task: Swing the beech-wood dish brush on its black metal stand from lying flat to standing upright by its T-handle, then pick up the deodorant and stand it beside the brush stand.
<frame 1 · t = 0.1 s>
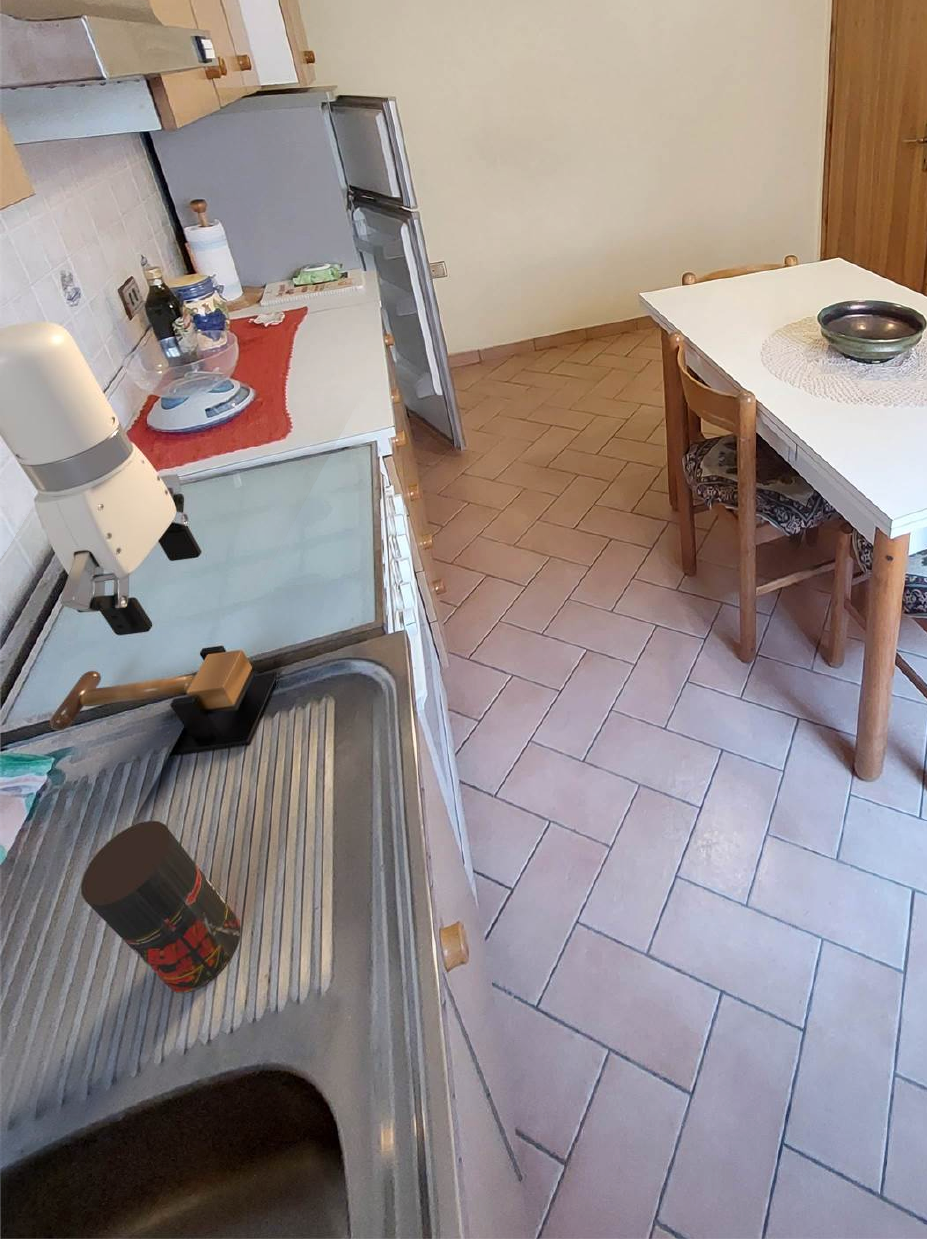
hand: (162, 592, 71), 21 cm above the worktop, tool pointing down, fingers open, 9 cm apart
deodorant: (204, 951, 62), on the worktop
brush stand: (223, 715, 83), on the worktop
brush: (155, 692, 80), point 5 cm above the worktop, hinge at 0.0°
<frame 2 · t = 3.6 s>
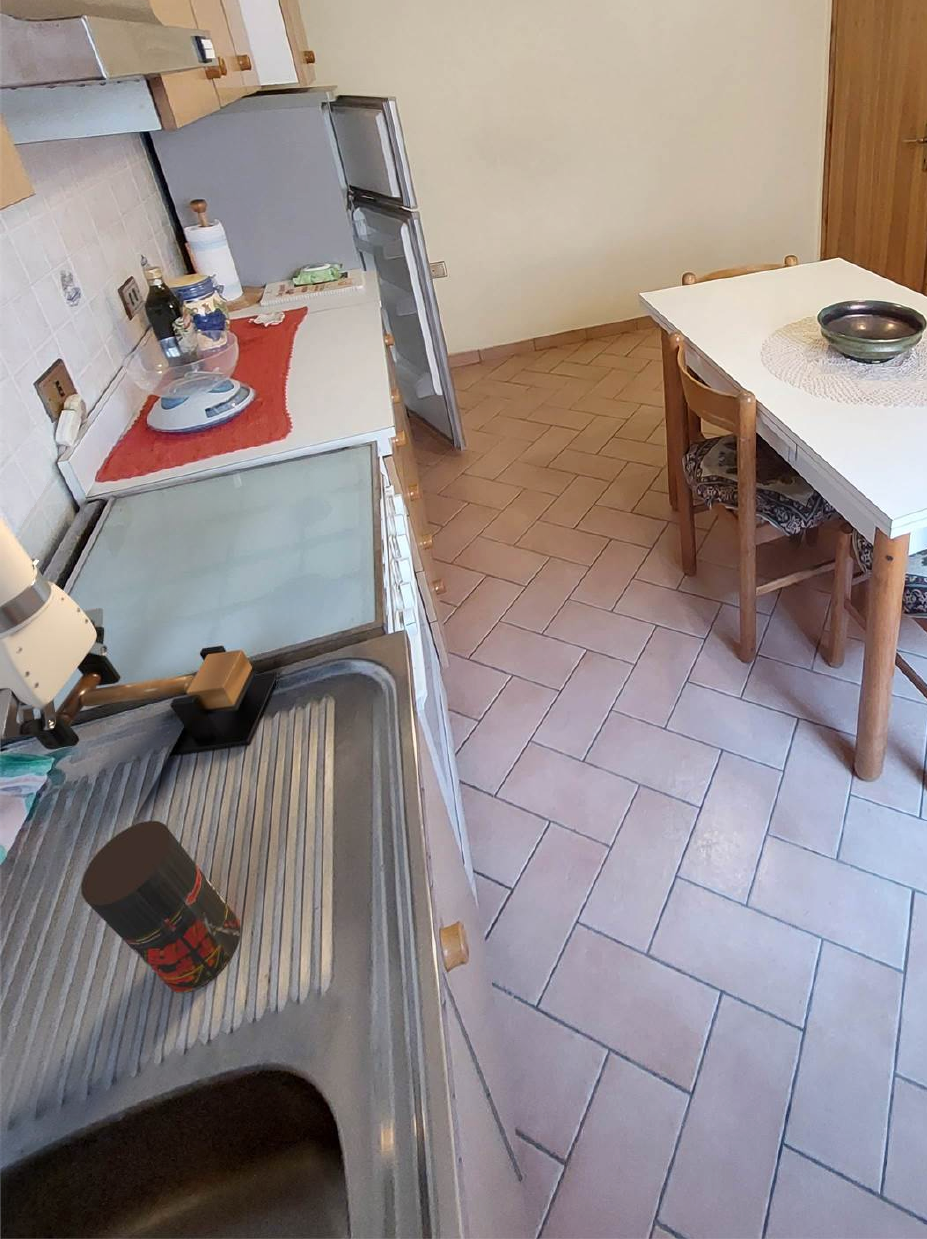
hand: (86, 711, 80), 4 cm above the worktop, tool pointing down, fingers closed on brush, 7 cm apart
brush: (155, 692, 80), point 5 cm above the worktop, hinge at 0.0°, touching gripper
everything else where it was.
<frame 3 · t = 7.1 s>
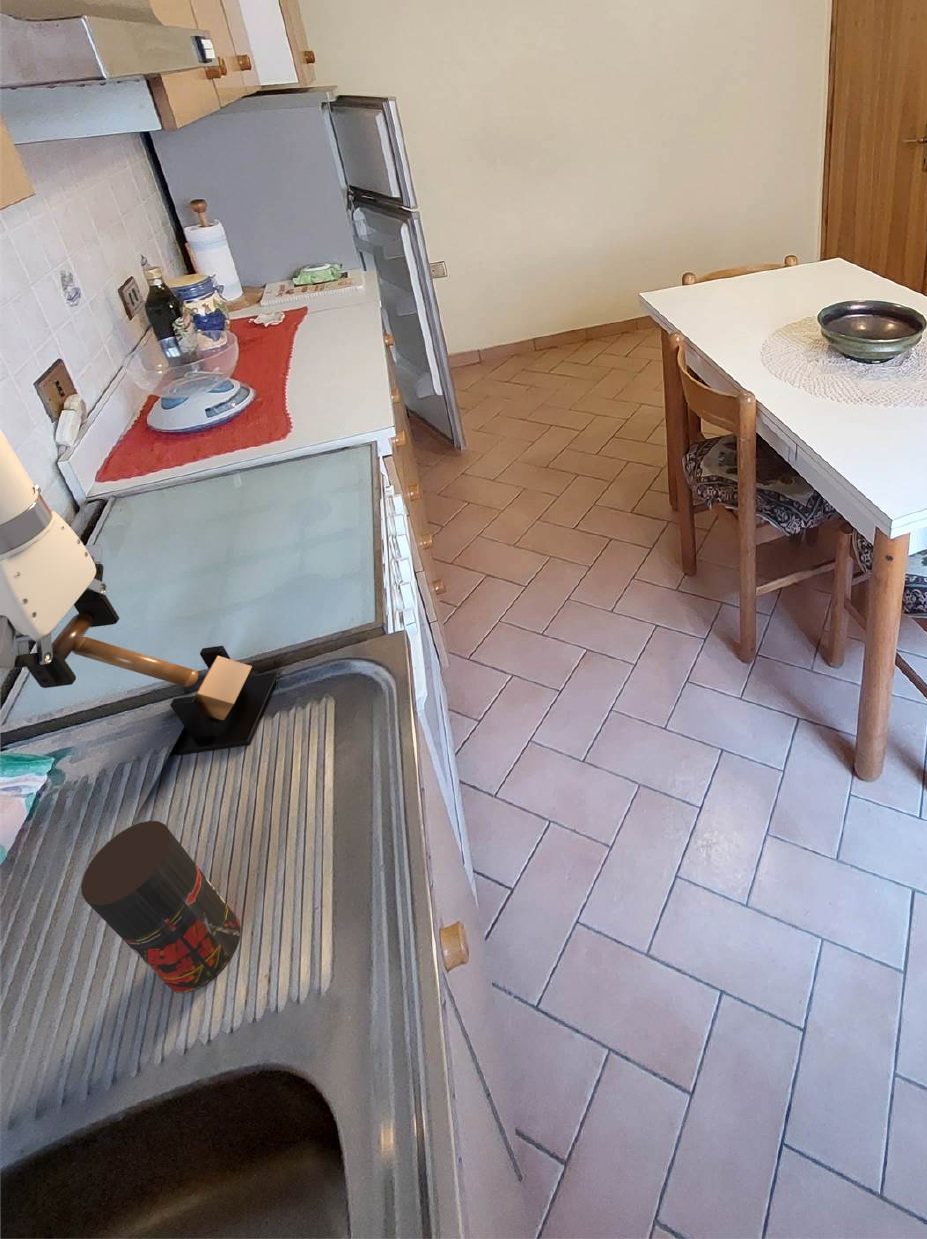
hand: (82, 651, 76), 13 cm above the worktop, tool pointing down, fingers closed on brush, 7 cm apart
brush: (149, 669, 78), point 9 cm above the worktop, hinge at 40.3°, touching gripper
everything else where it was.
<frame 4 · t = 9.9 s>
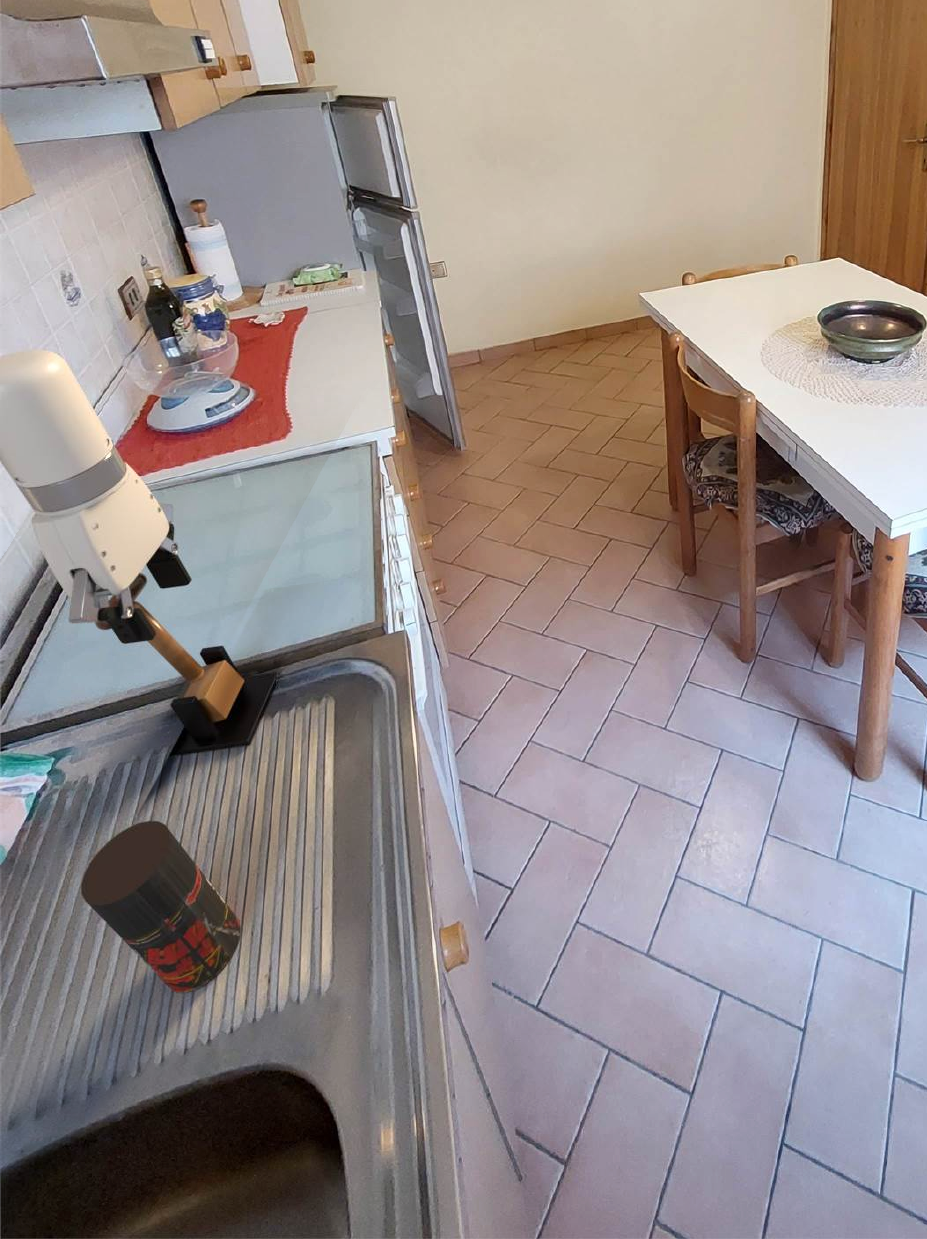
hand: (158, 610, 74), 18 cm above the worktop, tool pointing down, fingers open, 6 cm apart
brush: (167, 653, 77), point 11 cm above the worktop, hinge at 78.5°
everything else where it was.
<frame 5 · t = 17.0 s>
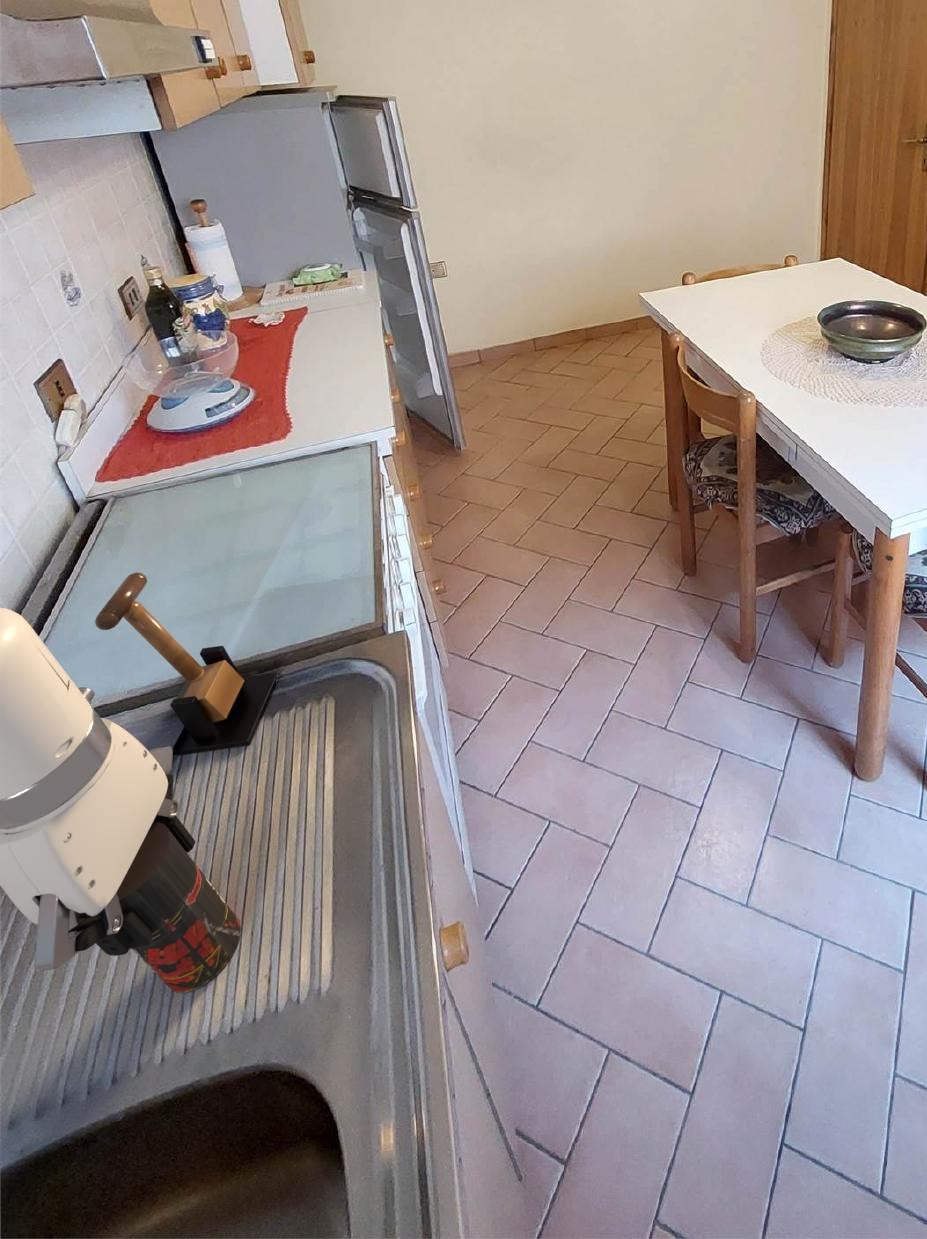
hand: (154, 893, 57), 10 cm above the worktop, tool pointing down, fingers closed on deodorant, 6 cm apart
deodorant: (204, 951, 62), on the worktop, touching gripper
everything else where it was.
when the fingers open (10 cm above the worktop, at t = 23.3 s): deodorant stays where it is, on the worktop.
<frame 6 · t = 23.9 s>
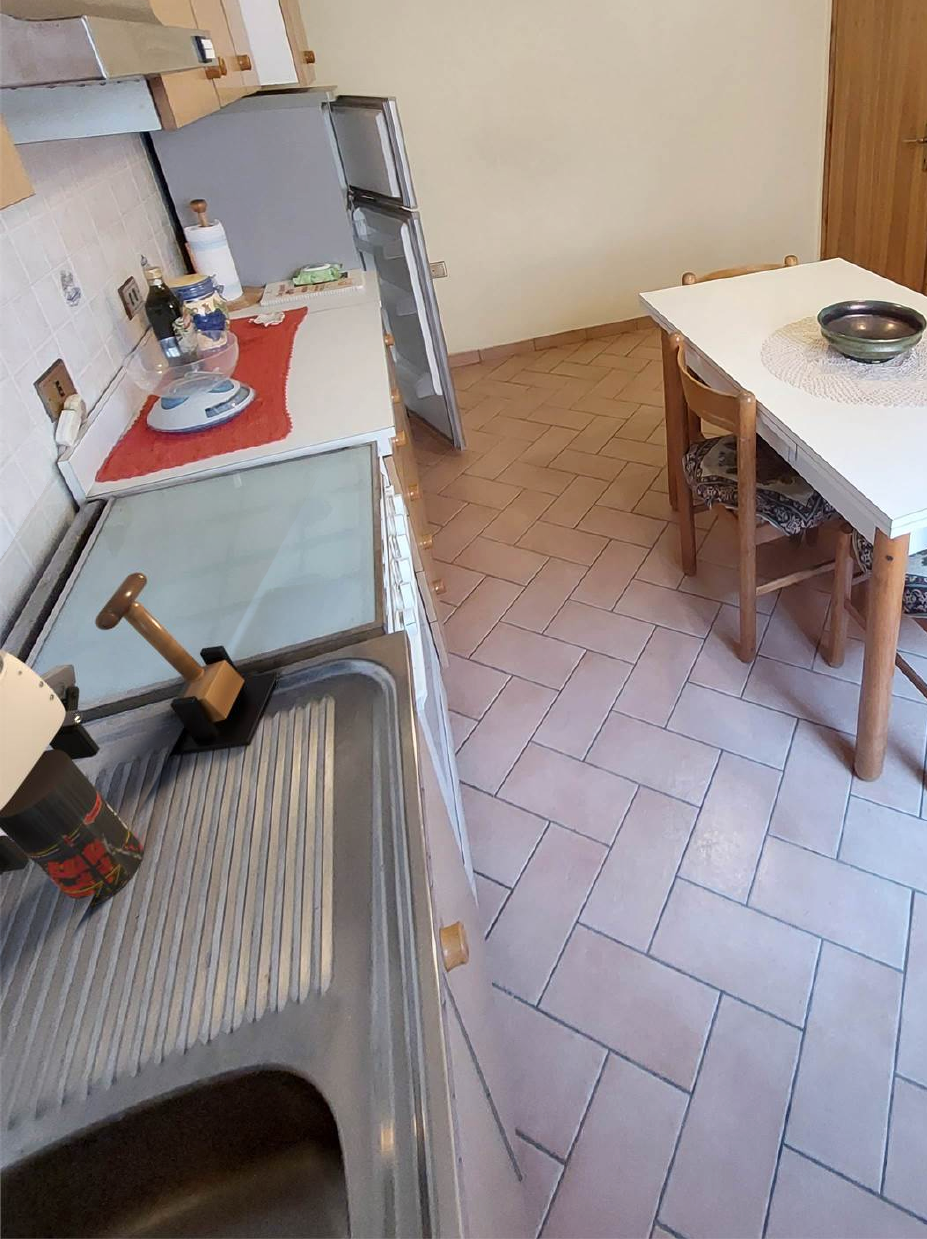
hand: (48, 807, 63), 11 cm above the worktop, tool pointing down, fingers open, 9 cm apart
deodorant: (108, 872, 68), on the worktop
everything else where it was.
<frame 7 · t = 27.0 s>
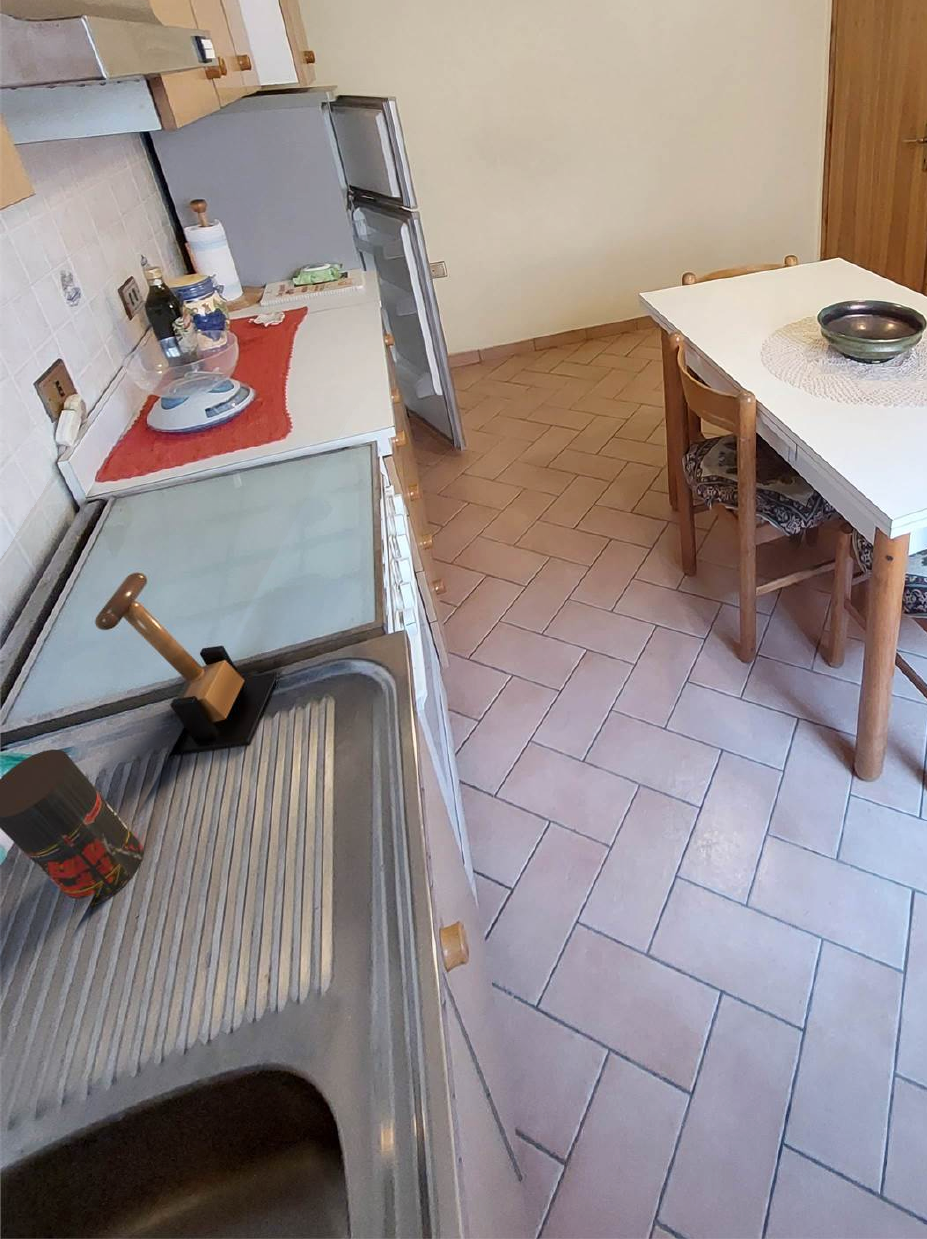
nothing on the worktop moved.
at the end: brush at +79° (first picture: +0°); deodorant inside the target area on the worktop beside the brush stand (0.1 cm from its centre), on the worktop; deodorant tilted 0° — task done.
